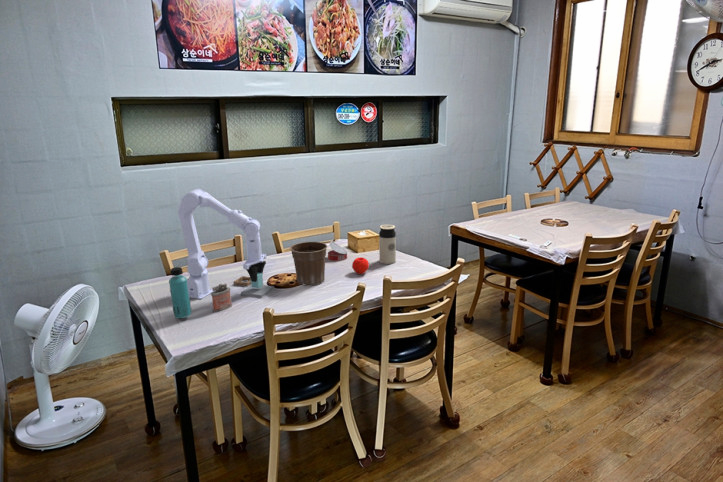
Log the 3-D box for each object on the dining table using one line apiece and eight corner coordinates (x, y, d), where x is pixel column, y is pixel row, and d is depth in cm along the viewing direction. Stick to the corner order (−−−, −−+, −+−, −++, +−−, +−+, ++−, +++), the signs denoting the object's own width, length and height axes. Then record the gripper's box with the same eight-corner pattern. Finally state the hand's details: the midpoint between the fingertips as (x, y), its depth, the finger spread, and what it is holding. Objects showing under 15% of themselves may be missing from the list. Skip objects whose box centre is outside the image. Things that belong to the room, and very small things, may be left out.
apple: (372, 274, 220) (371, 259, 218) (355, 277, 218) (355, 261, 215) (365, 269, 227) (365, 254, 225) (349, 271, 225) (349, 256, 223)
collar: (247, 286, 209) (247, 283, 209) (233, 284, 212) (233, 281, 211) (256, 280, 216) (255, 277, 215) (242, 279, 218) (242, 276, 218)
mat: (261, 297, 198) (261, 295, 197) (241, 294, 201) (240, 292, 201) (274, 288, 206) (274, 286, 206) (254, 285, 210) (254, 283, 210)
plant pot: (287, 278, 218) (285, 244, 213) (320, 272, 225) (318, 239, 220) (299, 290, 204) (297, 254, 199) (334, 283, 211) (333, 248, 206)
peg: (258, 288, 201) (257, 275, 199) (251, 287, 202) (250, 275, 200) (263, 285, 204) (262, 273, 202) (255, 284, 205) (254, 272, 204)
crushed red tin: (228, 304, 192) (226, 280, 189) (233, 306, 190) (231, 282, 187) (211, 310, 186) (208, 287, 183) (216, 313, 184) (213, 289, 181)
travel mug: (377, 260, 240) (376, 225, 234) (392, 258, 242) (392, 223, 237) (382, 265, 232) (382, 229, 227) (398, 263, 235) (398, 227, 229)
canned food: (337, 263, 250) (342, 245, 251) (348, 266, 243) (354, 247, 244) (320, 257, 243) (325, 239, 244) (331, 260, 236) (337, 241, 237)
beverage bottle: (194, 314, 184) (188, 264, 178) (189, 321, 177) (182, 271, 172) (177, 314, 183) (170, 265, 178) (171, 322, 177) (163, 271, 171)
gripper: (252, 255, 190) (255, 287, 194) (271, 244, 203) (273, 274, 207) (237, 253, 193) (240, 285, 197) (257, 243, 206) (259, 273, 210)
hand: (256, 279), depth 202 cm, fingers closed on peg, 3 cm apart
